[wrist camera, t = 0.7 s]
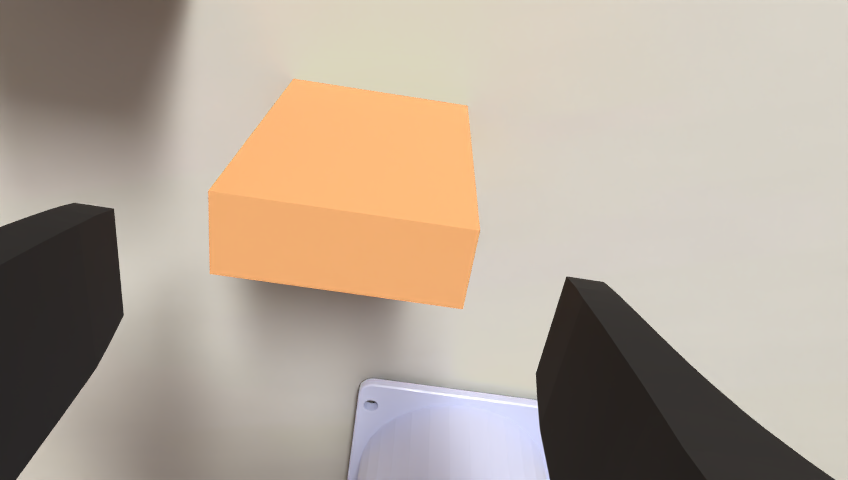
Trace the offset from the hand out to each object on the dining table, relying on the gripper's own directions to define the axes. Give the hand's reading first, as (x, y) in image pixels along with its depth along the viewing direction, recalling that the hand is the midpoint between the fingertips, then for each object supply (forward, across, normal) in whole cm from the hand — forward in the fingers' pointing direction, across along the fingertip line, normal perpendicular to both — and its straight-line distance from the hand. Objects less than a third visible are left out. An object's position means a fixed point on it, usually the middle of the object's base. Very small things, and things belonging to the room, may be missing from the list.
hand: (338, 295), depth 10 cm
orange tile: (+9, 0, 0) cm, 9 cm away
